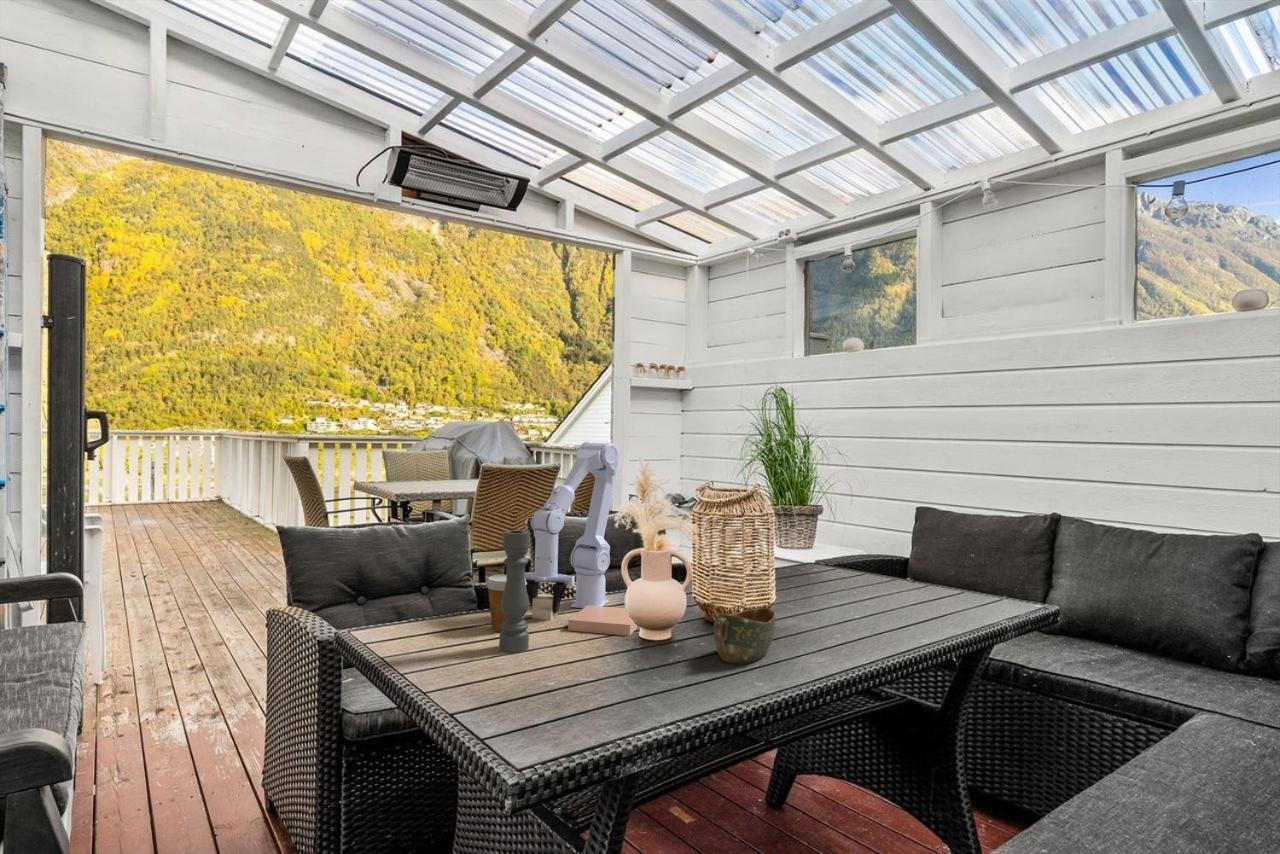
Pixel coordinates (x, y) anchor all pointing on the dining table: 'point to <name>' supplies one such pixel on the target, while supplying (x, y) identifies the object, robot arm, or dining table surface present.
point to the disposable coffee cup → (496, 599)
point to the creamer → (744, 635)
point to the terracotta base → (602, 621)
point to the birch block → (543, 607)
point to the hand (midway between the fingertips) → (545, 611)
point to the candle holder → (515, 593)
